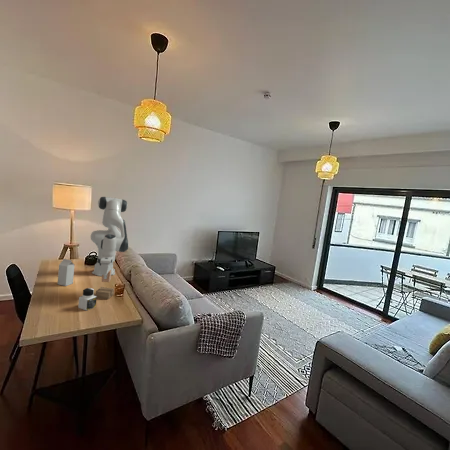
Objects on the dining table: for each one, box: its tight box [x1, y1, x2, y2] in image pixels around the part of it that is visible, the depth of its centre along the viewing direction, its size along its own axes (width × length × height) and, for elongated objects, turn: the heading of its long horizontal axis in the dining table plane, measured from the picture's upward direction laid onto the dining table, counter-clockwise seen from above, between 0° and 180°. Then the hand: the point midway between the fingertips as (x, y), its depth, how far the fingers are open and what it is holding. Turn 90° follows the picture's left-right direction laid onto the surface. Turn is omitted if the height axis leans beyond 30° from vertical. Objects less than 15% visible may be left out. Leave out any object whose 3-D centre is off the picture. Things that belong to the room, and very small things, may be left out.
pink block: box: [101, 270, 112, 283], centre depth 181 cm, size 5×5×8 cm
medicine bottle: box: [77, 287, 98, 311], centre depth 162 cm, size 7×7×12 cm
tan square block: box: [94, 286, 115, 300], centre depth 182 cm, size 9×9×5 cm
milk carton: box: [57, 258, 75, 287], centre depth 194 cm, size 7×7×19 cm
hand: (106, 277), depth 181 cm, fingers closed on pink block, 5 cm apart
